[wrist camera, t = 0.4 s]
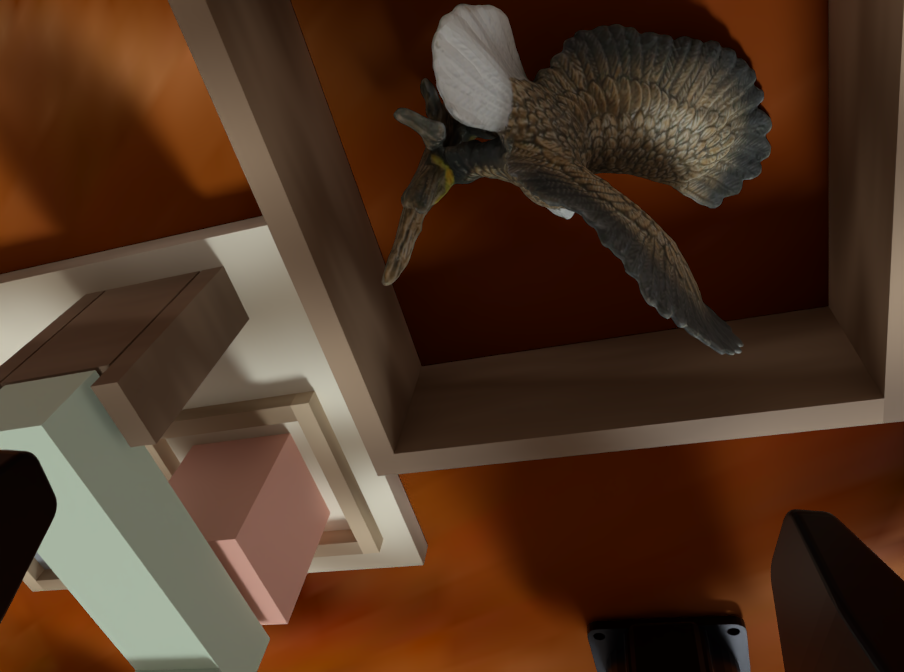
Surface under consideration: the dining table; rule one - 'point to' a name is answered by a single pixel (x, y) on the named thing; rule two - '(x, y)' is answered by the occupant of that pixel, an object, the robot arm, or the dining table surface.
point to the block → (256, 516)
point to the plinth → (589, 363)
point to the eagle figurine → (590, 140)
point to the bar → (127, 536)
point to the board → (206, 371)
